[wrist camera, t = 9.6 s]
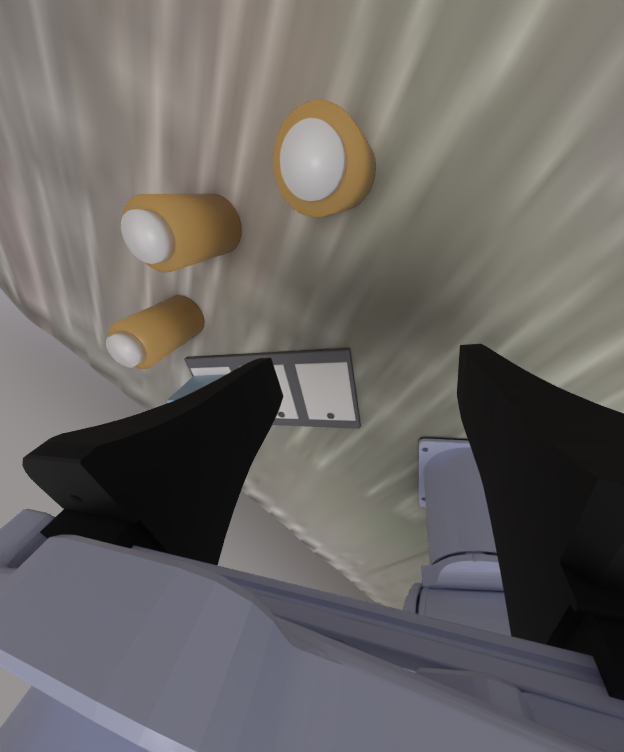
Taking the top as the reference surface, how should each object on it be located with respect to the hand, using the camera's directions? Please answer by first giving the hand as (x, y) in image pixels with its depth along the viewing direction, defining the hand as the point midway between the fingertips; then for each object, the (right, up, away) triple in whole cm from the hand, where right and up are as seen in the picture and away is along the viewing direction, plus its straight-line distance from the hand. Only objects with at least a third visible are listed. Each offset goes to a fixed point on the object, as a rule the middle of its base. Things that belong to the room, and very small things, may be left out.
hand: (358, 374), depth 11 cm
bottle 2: (-13, +5, +13) cm, 19 cm away
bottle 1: (-8, +10, +8) cm, 16 cm away
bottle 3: (0, +11, +5) cm, 12 cm away
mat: (-6, -1, +15) cm, 16 cm away
